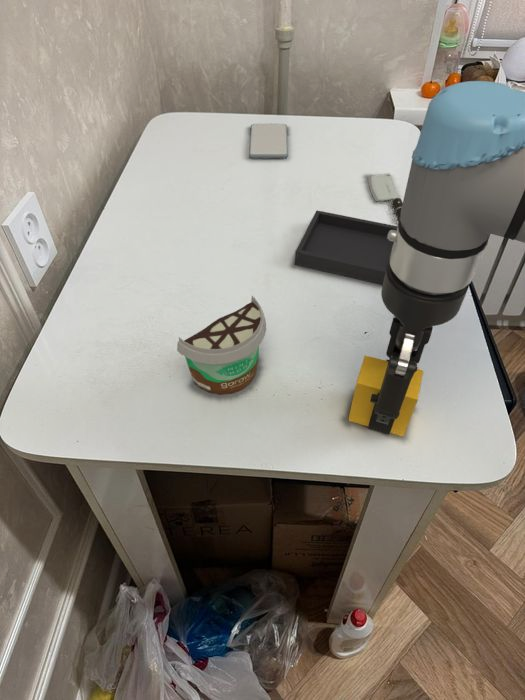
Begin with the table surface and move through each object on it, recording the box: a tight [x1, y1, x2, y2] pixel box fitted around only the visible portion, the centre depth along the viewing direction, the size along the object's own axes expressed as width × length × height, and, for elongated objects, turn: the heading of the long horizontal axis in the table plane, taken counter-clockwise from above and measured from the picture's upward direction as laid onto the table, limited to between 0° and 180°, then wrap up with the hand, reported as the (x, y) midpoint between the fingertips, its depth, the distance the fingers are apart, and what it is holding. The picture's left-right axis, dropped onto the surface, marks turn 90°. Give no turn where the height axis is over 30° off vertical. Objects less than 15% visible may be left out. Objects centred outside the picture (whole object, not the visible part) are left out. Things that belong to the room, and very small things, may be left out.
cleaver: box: [367, 172, 403, 219], centre depth 96 cm, size 17×1×5 cm
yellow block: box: [347, 355, 424, 437], centre depth 61 cm, size 7×4×8 cm, turn 70°
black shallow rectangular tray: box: [294, 210, 398, 286], centre depth 84 cm, size 18×13×3 cm
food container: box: [176, 295, 267, 396], centre depth 64 cm, size 12×6×10 cm, turn 129°
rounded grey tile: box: [248, 123, 289, 159], centre depth 111 cm, size 8×1×15 cm
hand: (383, 411), depth 63 cm, fingers open, 5 cm apart
